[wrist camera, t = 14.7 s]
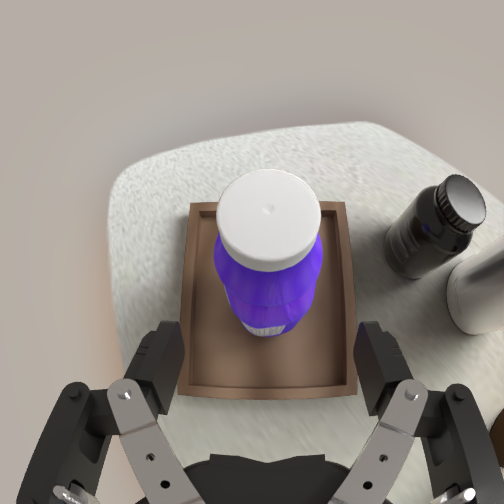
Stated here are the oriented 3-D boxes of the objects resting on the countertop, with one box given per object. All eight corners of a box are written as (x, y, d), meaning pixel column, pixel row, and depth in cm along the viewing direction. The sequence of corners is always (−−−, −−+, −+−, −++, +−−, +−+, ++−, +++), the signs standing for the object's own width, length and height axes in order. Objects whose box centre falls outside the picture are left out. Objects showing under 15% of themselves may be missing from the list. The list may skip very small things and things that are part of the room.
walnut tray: (339, 212, 31) (344, 201, 28) (349, 391, 24) (357, 394, 22) (195, 213, 32) (190, 202, 29) (185, 391, 25) (177, 394, 23)
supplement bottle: (429, 287, 27) (496, 249, 16) (377, 270, 28) (432, 221, 17) (434, 233, 29) (490, 181, 18) (386, 215, 31) (431, 152, 19)
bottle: (233, 267, 28) (190, 150, 12) (290, 258, 28) (317, 134, 12) (242, 341, 26) (200, 320, 9) (303, 332, 26) (364, 294, 9)
